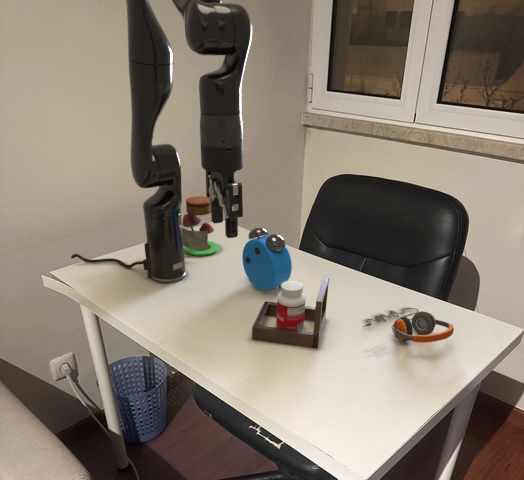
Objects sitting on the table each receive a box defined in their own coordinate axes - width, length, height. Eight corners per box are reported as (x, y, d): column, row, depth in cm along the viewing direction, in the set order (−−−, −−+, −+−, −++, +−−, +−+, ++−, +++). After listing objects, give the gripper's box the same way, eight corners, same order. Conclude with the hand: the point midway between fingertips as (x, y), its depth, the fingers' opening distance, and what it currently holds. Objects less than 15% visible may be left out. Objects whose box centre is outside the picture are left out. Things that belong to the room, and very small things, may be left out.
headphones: (408, 296, 122) (474, 314, 105) (407, 316, 124) (473, 338, 107) (351, 311, 115) (412, 333, 98) (352, 332, 117) (412, 358, 100)
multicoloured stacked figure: (191, 239, 159) (188, 191, 150) (227, 245, 155) (225, 197, 146) (171, 252, 149) (166, 202, 141) (208, 259, 145) (206, 208, 137)
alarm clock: (291, 292, 129) (294, 236, 120) (273, 299, 125) (274, 242, 117) (259, 275, 137) (259, 221, 129) (241, 281, 134) (240, 226, 125)
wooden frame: (252, 339, 109) (252, 293, 103) (264, 313, 119) (265, 269, 113) (317, 348, 107) (322, 301, 100) (325, 320, 117) (329, 276, 111)
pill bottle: (274, 323, 115) (276, 279, 109) (301, 322, 116) (303, 278, 110) (277, 337, 110) (279, 292, 104) (305, 336, 111) (308, 291, 105)
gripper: (190, 134, 93) (195, 220, 102) (213, 150, 82) (217, 245, 91) (228, 132, 95) (230, 216, 104) (256, 147, 84) (256, 239, 93)
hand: (224, 229), depth 97 cm, fingers open, 8 cm apart
